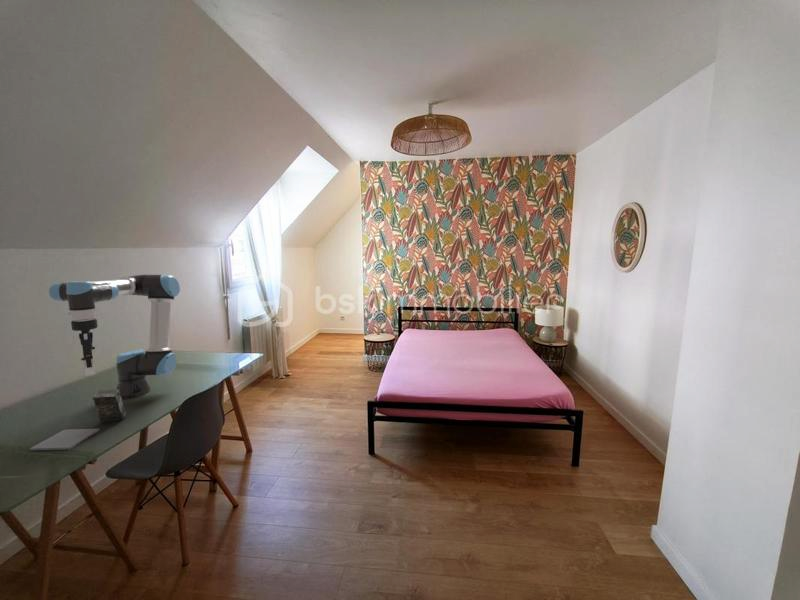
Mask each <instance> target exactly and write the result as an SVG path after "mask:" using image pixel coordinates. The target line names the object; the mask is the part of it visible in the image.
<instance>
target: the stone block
mask: <svg viewBox="0 0 800 600" xmlns="http://www.w3.org/2000/svg"><path fill="white" fill-rule="evenodd" d="M92 400H93V402H94V406H95V408H96V411H97V414H98V418H99V422H100V424H107V423H112V422H120V421H122V420H123V419H124V418H126V416H127V413H126V409H125V405H124V403H123V399H121V395H120V391H119V390H116V389H101V390H98V391H97V392H96V393H95V394H94V396H93V397H92Z"/></svg>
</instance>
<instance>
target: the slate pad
mask: <svg viewBox="0 0 800 600" xmlns="http://www.w3.org/2000/svg"><path fill="white" fill-rule="evenodd" d="M100 430H101V429H100V428H73V429H69V428H68V429H67V428H66V429H63V430H60V431H59V432H57V433H55V434H54V435H52V436H50V437H48V438H46V439H45V440H42V441H41V442H39V443H38V444H36V445H33V446H32V447H30V448H29V451H61V450H62V451H63V450H64V451H65V450H67V451H68V450H71V449H73V448H74V447H77V446H78V445H79V444H81V443H82V442H83V440H84V441H85V439H86V440H87V439H88V437H89V436H90V437H92V436H93V435H94V434H95V435H96V433H98V432H100ZM91 435H92V436H91ZM90 437H89V438H90ZM81 441H82V442H81ZM80 442H81V443H80ZM77 444H78V445H77Z"/></svg>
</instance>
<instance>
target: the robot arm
mask: <svg viewBox="0 0 800 600" xmlns="http://www.w3.org/2000/svg"><path fill="white" fill-rule="evenodd" d="M180 289H181V288H180V283H179V281H178V280H177V278H176V277H175V276H173V275H171V274H138V275H137V274H136V275H130V276H123V277H120V278H118V279H108V280H106V279H105V280H93V281H91V280H72V281H71V280H70V281H68V282H56V283H54V284H52V285H50V287H49V290H48V291H49V292H48V293H49V296H50V298H52V300H55V301H62V302H67V303H68V312H67V315H68V316H70V317H69V318H70V320H71V322H70V325H71V329H72V331H73V332H77V331H80V332H81V333H78V338H79V341H80V345H81V346H82V355H83V357H82V358H80V360H81V361H83V365H84V370H85V371H84V372H85V373H84V374H85V376H94V375H96V369H95V365H96V363H95V354H94V350H95V348H96V346H94V345H93V343H94V342H93V338H94V333H93V331H91V330H95V329H97V328H98V326H99V325H98V319H97V310H96V305H95V304H96V303H98V302H99V303H100V302H105V301H111V300H113V299H116V298H117V297H118V296H119V295H122V296H141V297H147V300H148V301H149V302H150V322H149V341H148V342H149V343H148V347H147V348H146V349H145V351H144V349H134V350H130V351H126V352H122V353H120V354H119V355H117V356H116V363H115V364H116V370H117V380H118V383H117V385H116V389H115V390H119V391H120V395H121V399H122V400H128V399H135V398H139V397H141V396H144V395H146V393H147V394H149V393H150V392H151V391H152V385H151V384H150V382H149V380H148V378H147V376H159V377H160V376H167V375H169V374H171V373H172V372H173V371H174V369H175V368H176V365H177V362H178V361H177V360H178V357H177V355H176V354H175V353H174V352H173V349H172V348H171V347H170V329H171V327H170V326H171V325H170V324H171V307H172V306H171V304H172V302H174V301H175V297H177V296H178V295H179V293H180V291H181V290H180Z"/></svg>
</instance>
